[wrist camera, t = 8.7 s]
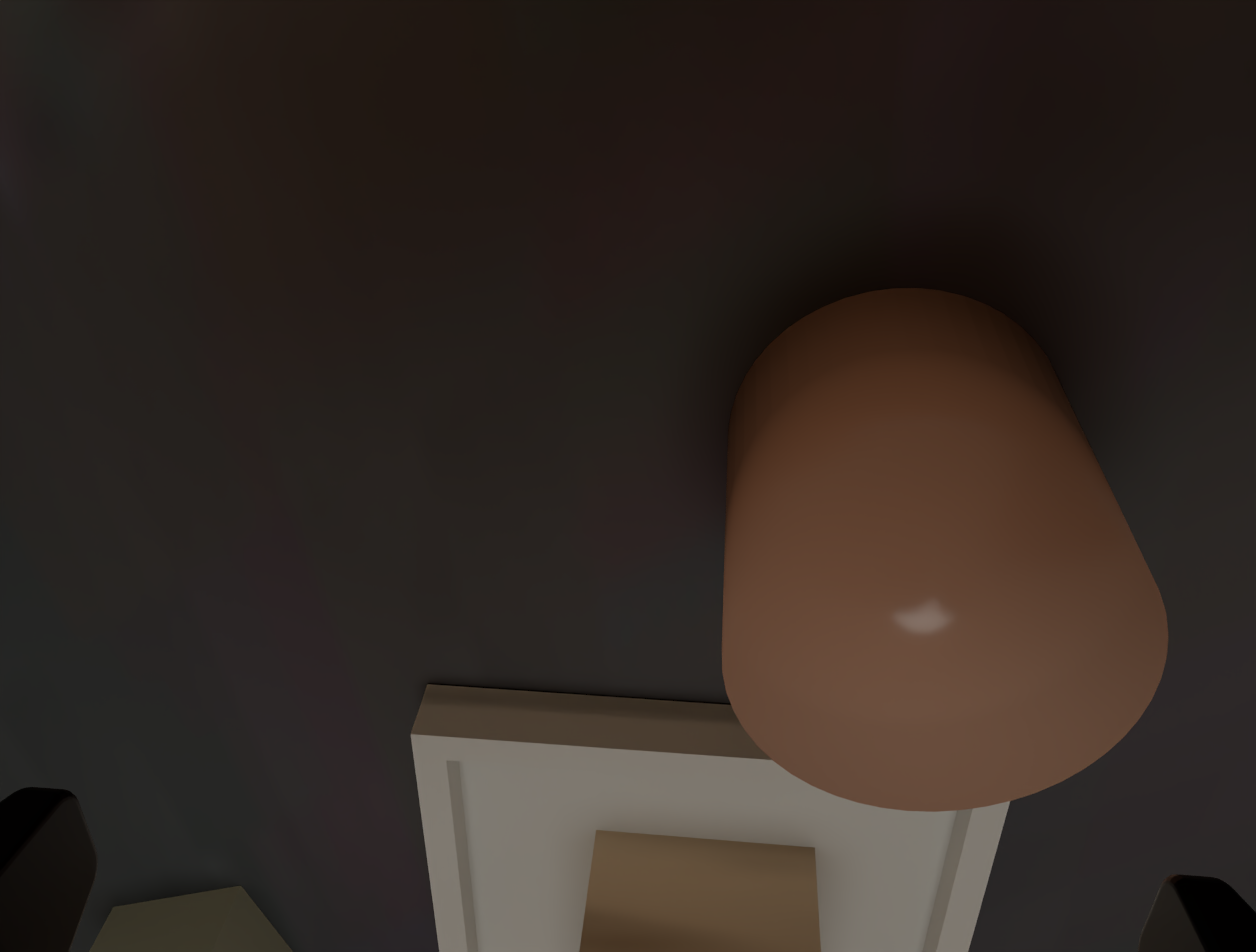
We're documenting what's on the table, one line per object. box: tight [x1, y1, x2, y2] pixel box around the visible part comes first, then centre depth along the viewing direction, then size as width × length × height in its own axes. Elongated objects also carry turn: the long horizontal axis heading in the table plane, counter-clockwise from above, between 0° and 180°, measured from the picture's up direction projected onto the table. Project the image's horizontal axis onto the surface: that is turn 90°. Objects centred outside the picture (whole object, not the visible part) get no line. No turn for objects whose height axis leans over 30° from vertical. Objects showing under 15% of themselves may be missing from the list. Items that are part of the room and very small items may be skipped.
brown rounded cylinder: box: [722, 288, 1168, 812], centre depth 18 cm, size 6×6×6 cm
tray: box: [411, 684, 1010, 952], centre depth 28 cm, size 12×12×2 cm
